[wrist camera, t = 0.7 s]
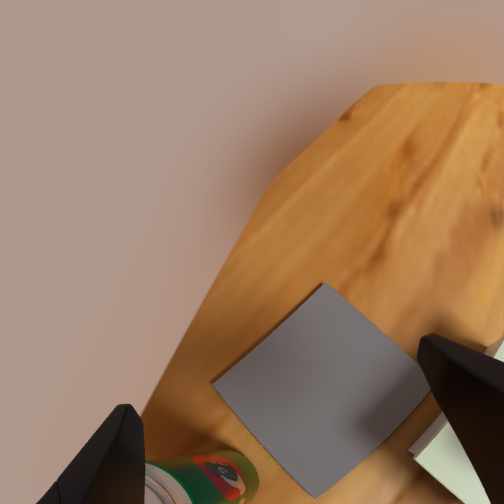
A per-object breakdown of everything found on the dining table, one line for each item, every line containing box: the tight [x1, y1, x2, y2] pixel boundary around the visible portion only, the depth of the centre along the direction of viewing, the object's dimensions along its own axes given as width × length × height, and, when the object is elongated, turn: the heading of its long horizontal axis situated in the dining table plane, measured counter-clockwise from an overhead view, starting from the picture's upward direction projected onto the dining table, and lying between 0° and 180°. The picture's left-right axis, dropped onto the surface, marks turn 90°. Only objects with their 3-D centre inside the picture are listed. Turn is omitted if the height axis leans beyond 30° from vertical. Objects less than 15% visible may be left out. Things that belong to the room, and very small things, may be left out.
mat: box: [212, 282, 431, 499], centre depth 20 cm, size 12×12×1 cm
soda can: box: [145, 449, 259, 504], centre depth 13 cm, size 5×5×12 cm
